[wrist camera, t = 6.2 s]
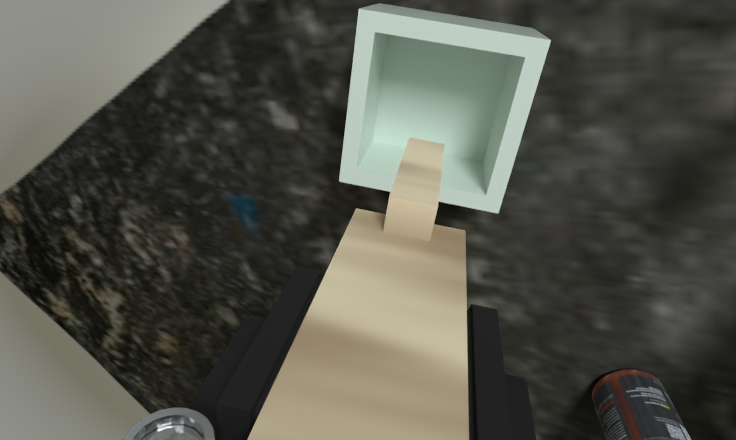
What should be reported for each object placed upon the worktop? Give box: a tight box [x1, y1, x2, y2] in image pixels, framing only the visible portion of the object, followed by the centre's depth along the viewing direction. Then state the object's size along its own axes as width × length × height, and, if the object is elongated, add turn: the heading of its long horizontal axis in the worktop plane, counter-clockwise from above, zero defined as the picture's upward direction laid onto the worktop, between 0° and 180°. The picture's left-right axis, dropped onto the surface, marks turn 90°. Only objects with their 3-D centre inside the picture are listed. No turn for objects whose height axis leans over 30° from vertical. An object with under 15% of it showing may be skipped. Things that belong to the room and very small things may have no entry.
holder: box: [339, 3, 551, 213], centre depth 30 cm, size 10×10×7 cm
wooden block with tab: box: [247, 138, 469, 440], centre depth 11 cm, size 5×3×14 cm, turn 172°
